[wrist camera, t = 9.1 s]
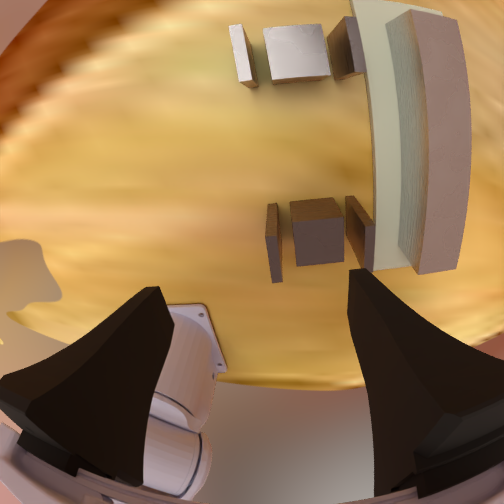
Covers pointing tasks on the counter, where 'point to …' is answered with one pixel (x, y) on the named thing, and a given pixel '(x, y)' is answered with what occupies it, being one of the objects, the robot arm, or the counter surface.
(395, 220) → the mat
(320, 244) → the brown boxy piece
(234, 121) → the counter surface
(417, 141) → the rail
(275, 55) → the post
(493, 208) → the counter surface
